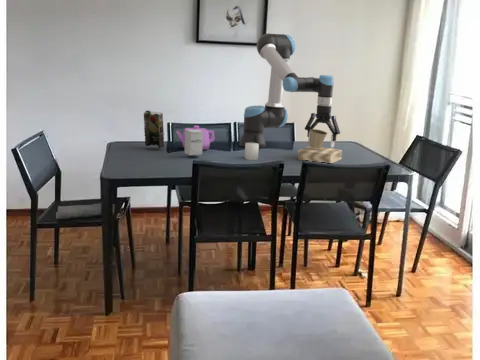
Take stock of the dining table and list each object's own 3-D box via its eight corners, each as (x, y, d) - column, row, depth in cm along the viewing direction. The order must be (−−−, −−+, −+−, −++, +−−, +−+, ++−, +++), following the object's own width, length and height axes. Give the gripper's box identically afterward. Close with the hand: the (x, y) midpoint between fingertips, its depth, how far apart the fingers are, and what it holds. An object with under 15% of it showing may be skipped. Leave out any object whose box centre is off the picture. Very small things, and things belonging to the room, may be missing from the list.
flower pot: (323, 151, 301) (326, 135, 298) (305, 147, 302) (309, 131, 299) (324, 147, 310) (327, 131, 307) (307, 143, 311) (310, 128, 308)
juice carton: (159, 112, 307) (164, 110, 313) (142, 110, 310) (148, 109, 316) (160, 148, 313) (165, 146, 319) (144, 146, 316) (149, 144, 322)
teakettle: (216, 147, 325) (217, 125, 322) (200, 151, 310) (201, 128, 308) (191, 143, 333) (191, 122, 330) (174, 147, 318) (174, 125, 315)
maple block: (297, 159, 302) (298, 150, 300) (310, 154, 317) (310, 145, 316) (330, 164, 293) (331, 154, 292) (341, 159, 309) (342, 150, 308)
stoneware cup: (241, 158, 296) (242, 143, 295) (249, 156, 302) (250, 141, 300) (252, 160, 292) (253, 145, 291) (260, 159, 298) (261, 143, 296)
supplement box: (189, 155, 297) (190, 131, 294) (184, 153, 303) (184, 129, 300) (202, 155, 300) (203, 131, 297) (197, 152, 306) (197, 129, 304)
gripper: (300, 103, 303) (297, 142, 308) (342, 108, 289) (338, 149, 293) (307, 102, 309) (304, 141, 314) (349, 107, 294) (345, 148, 299)
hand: (320, 145), depth 304 cm, fingers open, 13 cm apart
